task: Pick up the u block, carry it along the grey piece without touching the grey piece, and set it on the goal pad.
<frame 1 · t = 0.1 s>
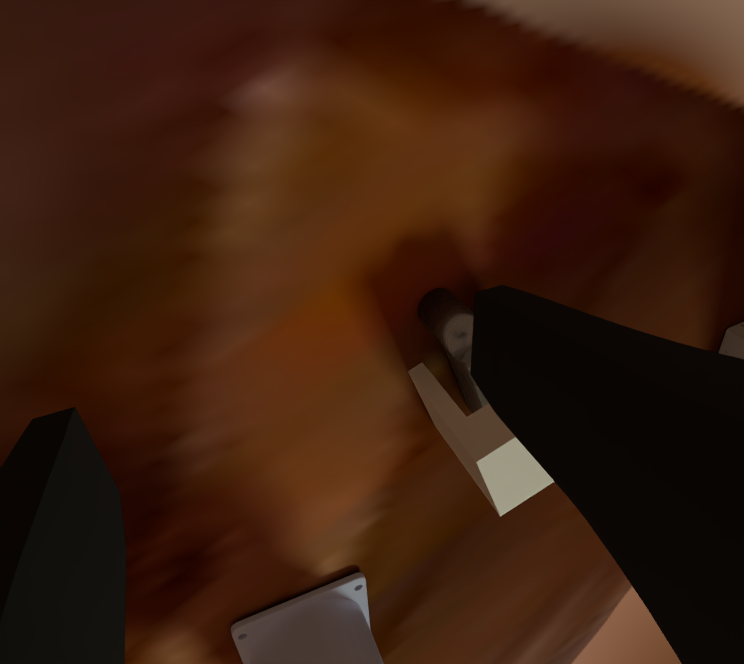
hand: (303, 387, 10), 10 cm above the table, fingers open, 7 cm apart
u block: (463, 374, 26), resting in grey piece
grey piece: (305, 627, 33), on the table
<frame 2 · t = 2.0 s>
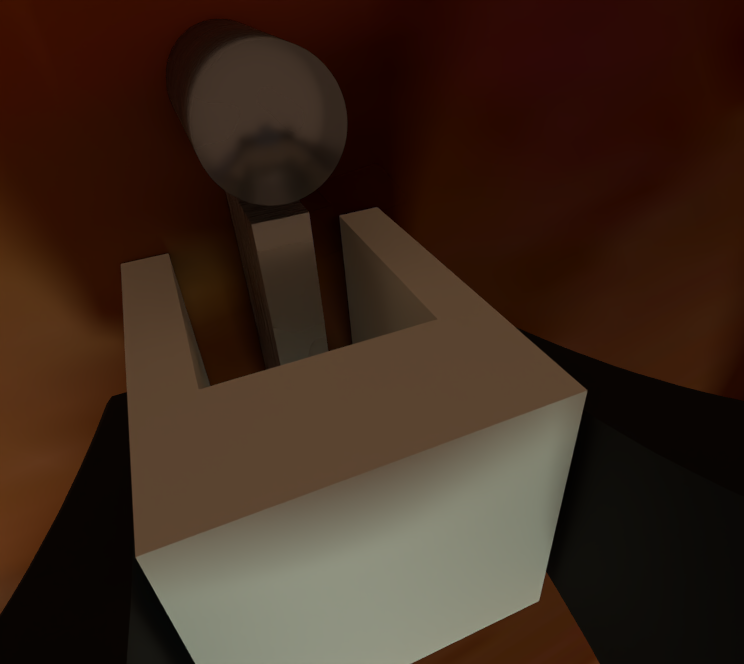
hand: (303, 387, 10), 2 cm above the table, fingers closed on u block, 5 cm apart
u block: (277, 332, 11), resting in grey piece, touching gripper
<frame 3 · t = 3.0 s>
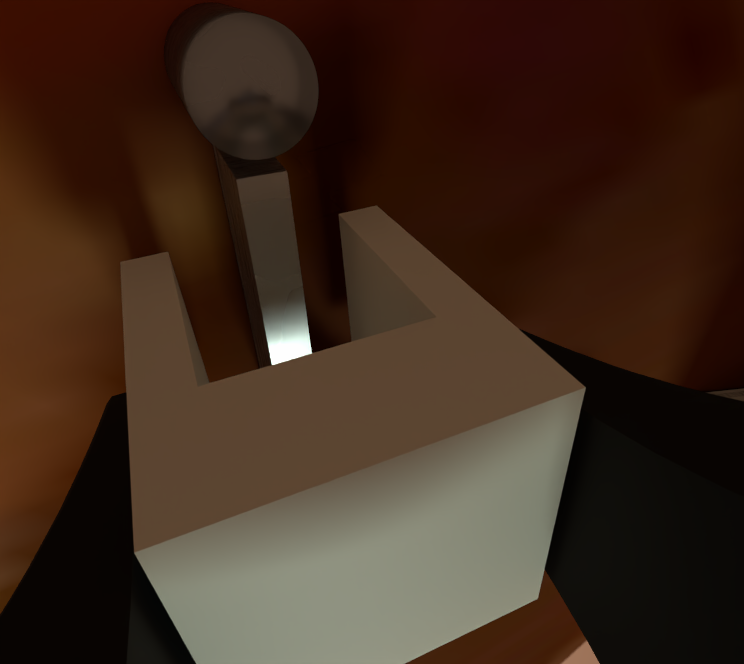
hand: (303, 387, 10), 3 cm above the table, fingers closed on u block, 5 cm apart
u block: (277, 330, 11), point 1 cm above the table, touching gripper
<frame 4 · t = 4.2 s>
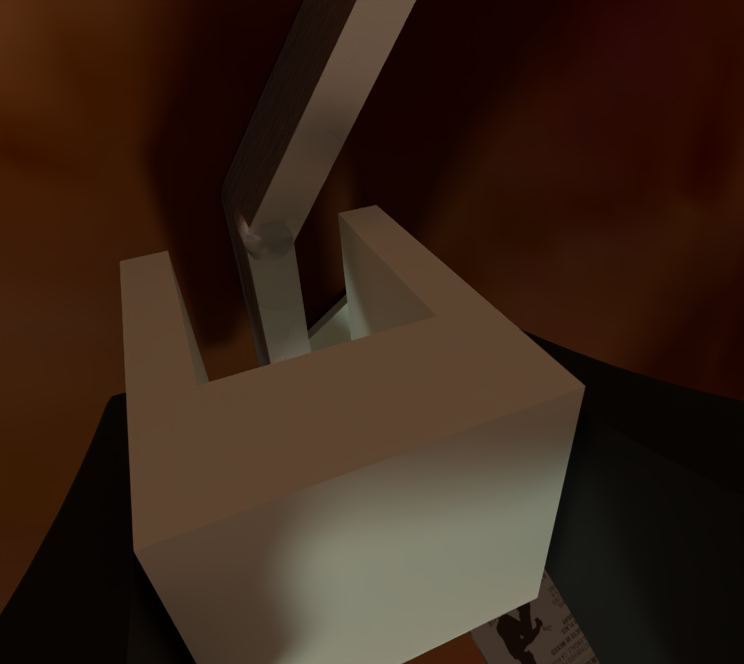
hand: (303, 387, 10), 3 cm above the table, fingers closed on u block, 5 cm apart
u block: (276, 330, 11), point 1 cm above the table, touching gripper
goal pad: (349, 427, 16), resting in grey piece
coffee box: (536, 562, 26), on the table
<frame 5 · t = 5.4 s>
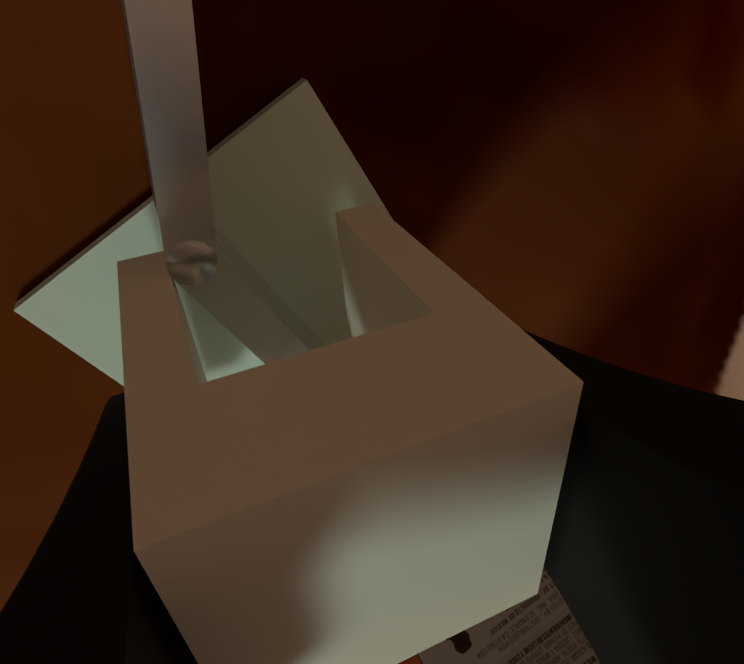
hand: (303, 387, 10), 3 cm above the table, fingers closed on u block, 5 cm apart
u block: (274, 329, 11), point 1 cm above the table, touching gripper
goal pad: (268, 306, 12), resting in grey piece
coffee box: (480, 543, 23), on the table
when the fingers open (3 cm above the table, at t = 6.4 s): u block stays where it is, resting on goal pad.
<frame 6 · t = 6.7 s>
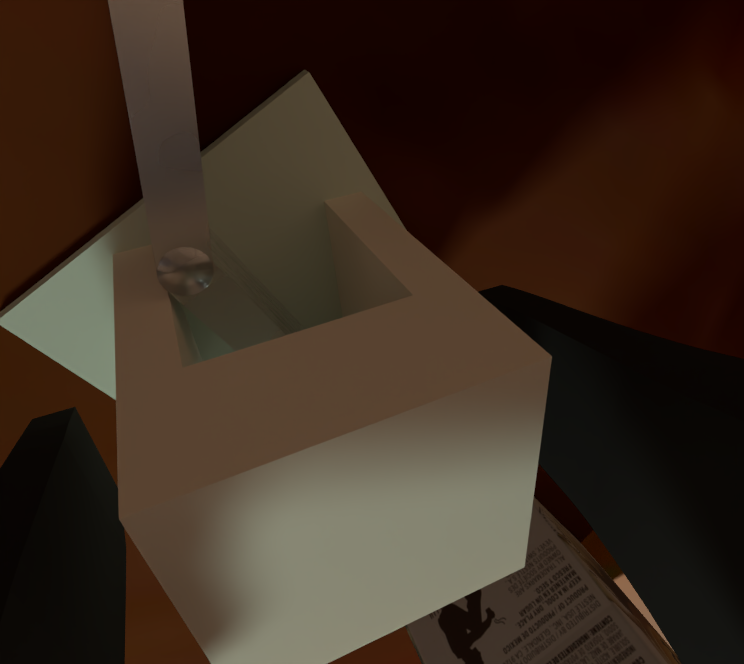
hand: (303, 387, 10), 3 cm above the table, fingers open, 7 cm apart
u block: (269, 317, 11), resting on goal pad
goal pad: (269, 313, 12), resting in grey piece
coffee box: (490, 553, 22), on the table
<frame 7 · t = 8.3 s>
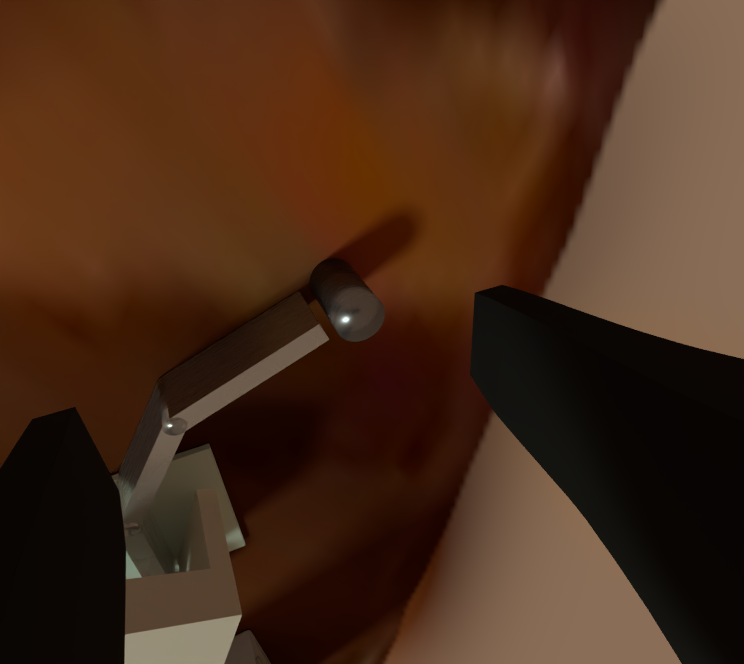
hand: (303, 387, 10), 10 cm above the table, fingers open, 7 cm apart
u block: (148, 528, 23), resting on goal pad
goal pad: (148, 524, 23), resting in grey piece
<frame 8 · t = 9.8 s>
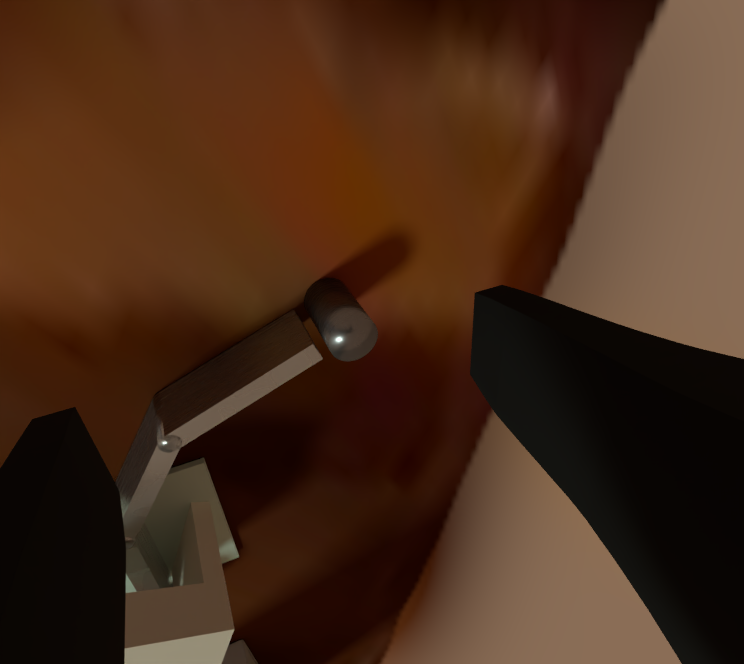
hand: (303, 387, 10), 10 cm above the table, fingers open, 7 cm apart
u block: (143, 541, 23), resting on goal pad
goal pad: (143, 537, 24), resting in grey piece
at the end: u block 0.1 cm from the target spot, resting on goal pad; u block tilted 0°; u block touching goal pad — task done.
